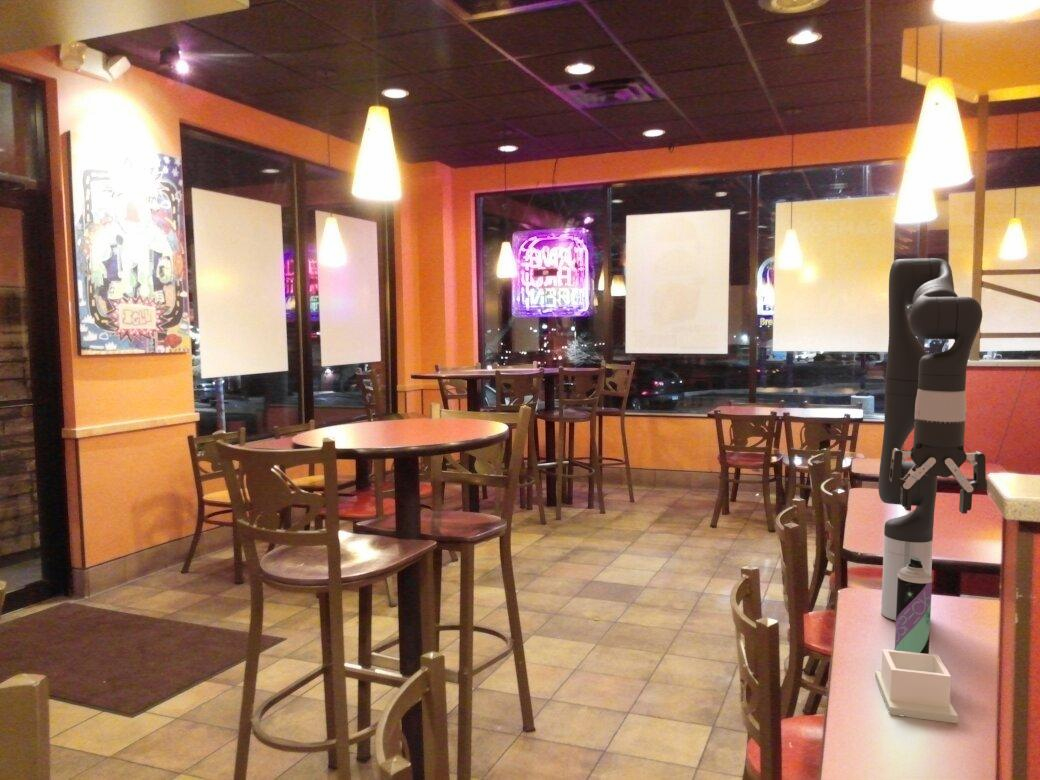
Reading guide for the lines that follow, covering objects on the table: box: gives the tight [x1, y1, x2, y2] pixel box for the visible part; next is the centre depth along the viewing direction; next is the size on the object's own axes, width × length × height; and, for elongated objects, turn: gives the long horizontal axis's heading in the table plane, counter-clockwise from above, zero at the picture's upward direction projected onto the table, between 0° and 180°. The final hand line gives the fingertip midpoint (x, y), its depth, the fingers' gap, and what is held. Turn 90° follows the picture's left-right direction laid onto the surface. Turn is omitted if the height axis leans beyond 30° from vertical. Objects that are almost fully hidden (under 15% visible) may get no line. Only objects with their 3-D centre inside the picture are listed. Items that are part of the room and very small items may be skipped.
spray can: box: [894, 558, 933, 654], centre depth 140 cm, size 6×6×20 cm
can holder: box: [874, 648, 958, 724], centre depth 128 cm, size 14×10×6 cm
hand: (934, 511), depth 132 cm, fingers open, 8 cm apart
